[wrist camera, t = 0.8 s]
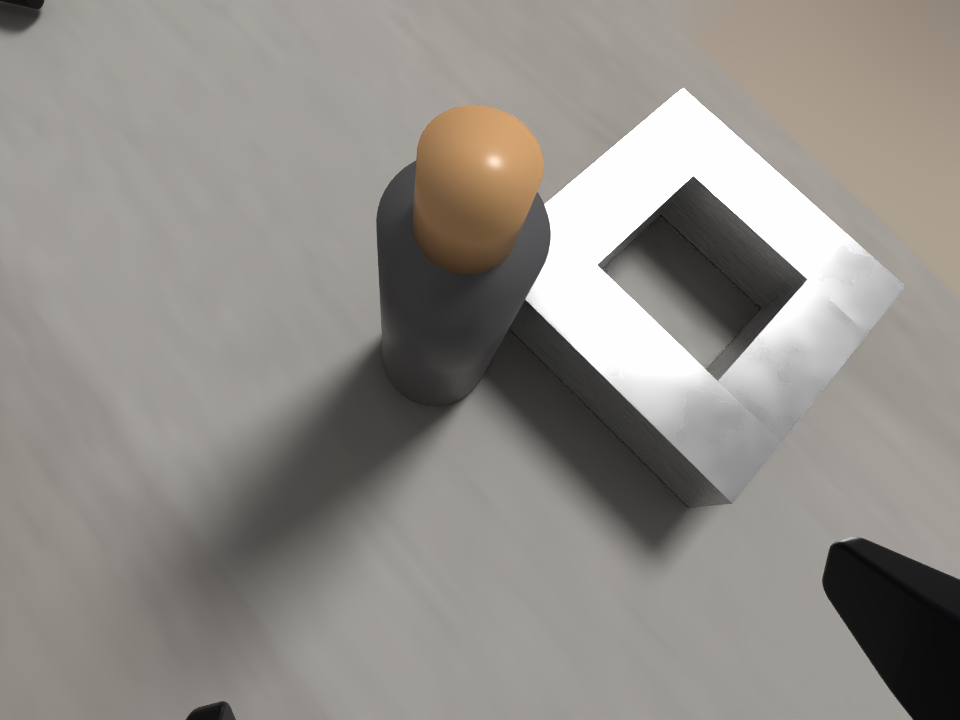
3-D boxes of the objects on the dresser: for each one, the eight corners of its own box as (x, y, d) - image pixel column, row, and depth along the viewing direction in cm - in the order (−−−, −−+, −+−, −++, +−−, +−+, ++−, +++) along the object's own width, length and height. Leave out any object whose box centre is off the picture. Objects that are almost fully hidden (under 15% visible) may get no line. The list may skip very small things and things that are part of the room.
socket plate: (849, 313, 26) (905, 286, 23) (689, 507, 22) (732, 503, 20) (652, 134, 27) (682, 87, 25) (471, 290, 24) (482, 257, 21)
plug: (506, 358, 23) (625, 171, 11) (433, 427, 22) (480, 298, 10) (436, 288, 24) (481, 38, 12) (361, 352, 22) (326, 144, 11)
